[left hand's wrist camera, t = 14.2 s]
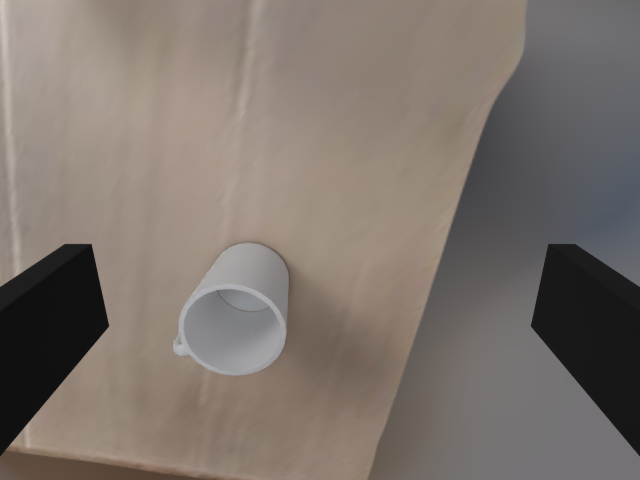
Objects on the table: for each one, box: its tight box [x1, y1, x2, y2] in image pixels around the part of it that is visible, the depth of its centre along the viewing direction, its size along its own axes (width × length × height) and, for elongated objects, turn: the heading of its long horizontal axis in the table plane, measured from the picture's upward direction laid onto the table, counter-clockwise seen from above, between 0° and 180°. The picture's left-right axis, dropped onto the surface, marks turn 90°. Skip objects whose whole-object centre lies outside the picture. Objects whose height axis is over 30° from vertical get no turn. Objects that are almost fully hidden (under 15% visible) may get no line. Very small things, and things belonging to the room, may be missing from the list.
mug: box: [173, 242, 289, 376], centre depth 40 cm, size 11×9×10 cm
